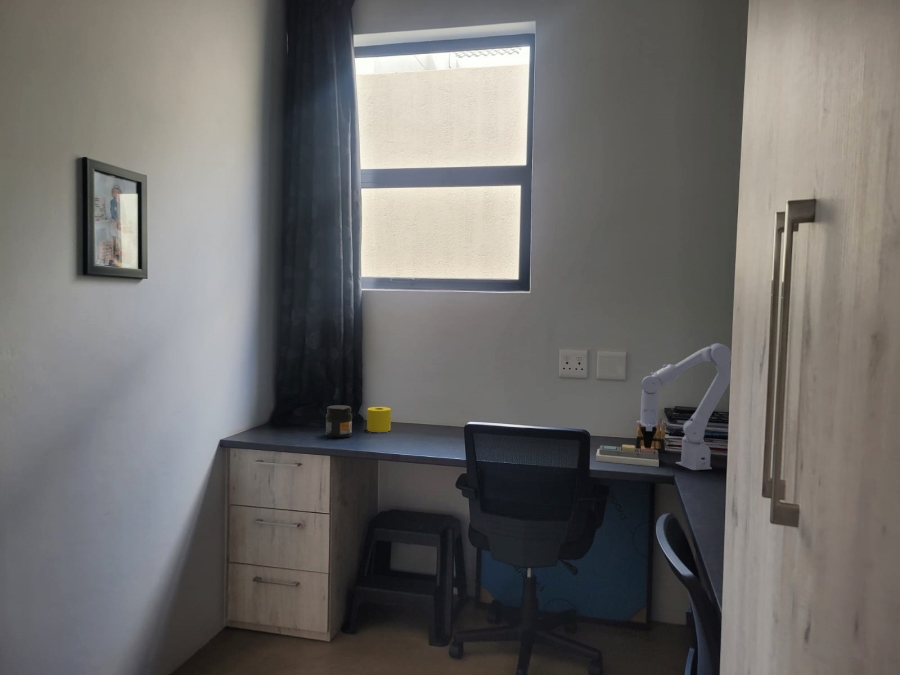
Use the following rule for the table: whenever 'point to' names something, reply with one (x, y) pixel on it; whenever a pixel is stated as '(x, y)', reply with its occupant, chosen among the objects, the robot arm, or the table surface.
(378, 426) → the tape roll
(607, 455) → the button pad
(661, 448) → the ammunition clip
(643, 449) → the terracotta key
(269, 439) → the table surface
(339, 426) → the supplement container
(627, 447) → the ochre key
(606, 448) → the teal key
